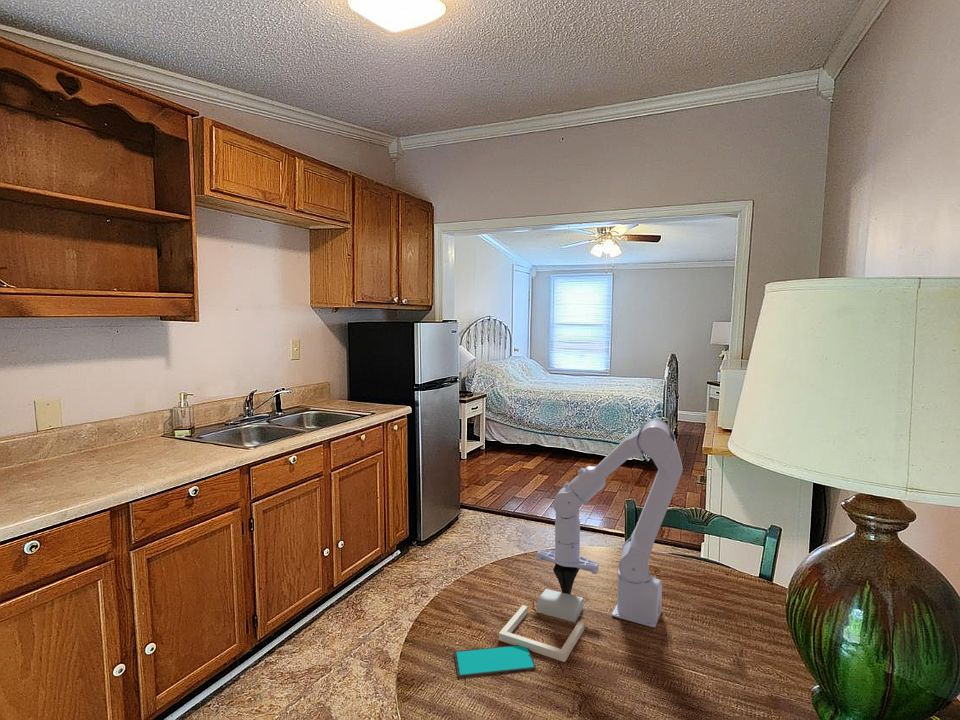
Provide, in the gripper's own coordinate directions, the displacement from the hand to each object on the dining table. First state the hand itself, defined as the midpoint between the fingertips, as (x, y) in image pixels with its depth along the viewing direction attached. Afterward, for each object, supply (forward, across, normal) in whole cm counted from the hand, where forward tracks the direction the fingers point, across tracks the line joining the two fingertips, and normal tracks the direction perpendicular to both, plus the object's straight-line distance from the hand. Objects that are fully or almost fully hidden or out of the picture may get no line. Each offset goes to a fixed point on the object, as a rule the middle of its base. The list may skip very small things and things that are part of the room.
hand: (566, 595), depth 125 cm
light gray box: (+2, 0, +4) cm, 5 cm away
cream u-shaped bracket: (+1, 0, +14) cm, 15 cm away
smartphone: (+2, +5, +28) cm, 28 cm away
